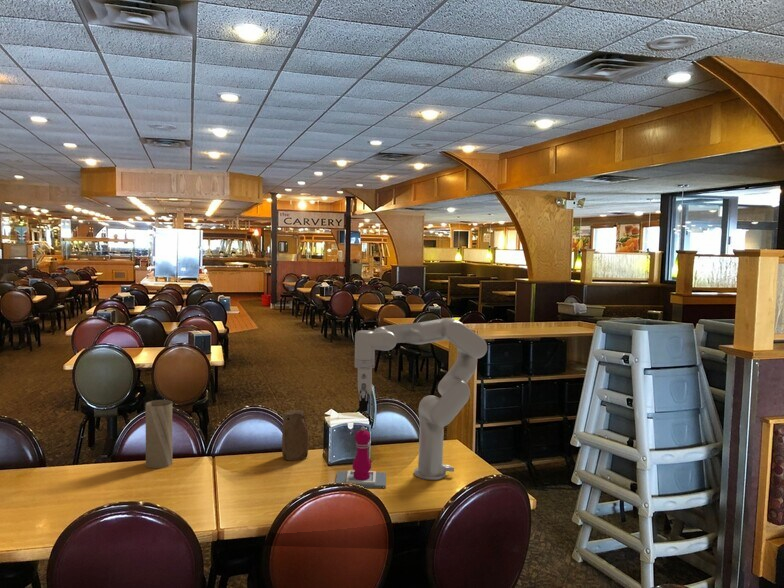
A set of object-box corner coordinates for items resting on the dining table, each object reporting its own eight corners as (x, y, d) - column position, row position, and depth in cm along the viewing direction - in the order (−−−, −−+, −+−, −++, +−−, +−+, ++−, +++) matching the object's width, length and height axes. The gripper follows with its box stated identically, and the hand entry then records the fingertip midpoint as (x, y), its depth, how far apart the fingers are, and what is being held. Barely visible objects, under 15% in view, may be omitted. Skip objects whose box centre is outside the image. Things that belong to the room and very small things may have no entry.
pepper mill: (356, 481, 234) (358, 430, 232) (349, 475, 240) (350, 424, 238) (374, 479, 237) (375, 428, 235) (366, 472, 243) (367, 422, 242)
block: (282, 461, 255) (282, 414, 254) (281, 455, 263) (282, 409, 261) (308, 460, 258) (309, 413, 256) (307, 454, 265) (308, 408, 263)
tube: (141, 463, 248) (140, 402, 246) (164, 457, 256) (164, 398, 253) (153, 470, 242) (153, 407, 239) (177, 464, 249) (177, 403, 247)
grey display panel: (386, 474, 244) (386, 470, 244) (385, 488, 231) (385, 483, 231) (337, 473, 244) (338, 469, 244) (334, 486, 231) (335, 482, 231)
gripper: (373, 368, 225) (373, 414, 227) (375, 358, 242) (374, 401, 244) (353, 367, 225) (352, 413, 227) (356, 358, 242) (355, 401, 244)
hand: (363, 407), depth 235 cm, fingers open, 9 cm apart
